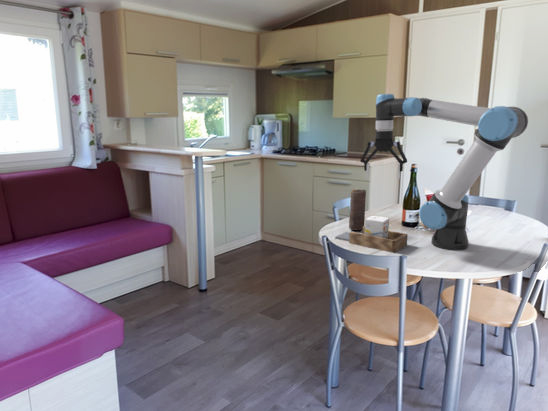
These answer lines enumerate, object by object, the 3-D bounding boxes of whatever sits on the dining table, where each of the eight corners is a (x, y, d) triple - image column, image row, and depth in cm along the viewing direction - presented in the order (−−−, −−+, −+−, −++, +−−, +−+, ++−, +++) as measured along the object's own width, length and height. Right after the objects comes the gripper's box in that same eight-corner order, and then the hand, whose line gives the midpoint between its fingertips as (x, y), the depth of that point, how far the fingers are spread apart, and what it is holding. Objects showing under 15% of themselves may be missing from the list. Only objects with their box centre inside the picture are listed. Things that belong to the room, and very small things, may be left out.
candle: (363, 232, 212) (366, 191, 208) (348, 231, 214) (350, 191, 209) (364, 228, 220) (366, 188, 215) (349, 227, 221) (350, 188, 217)
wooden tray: (406, 244, 194) (407, 234, 193) (394, 252, 184) (395, 241, 183) (363, 236, 207) (363, 225, 205) (349, 243, 196) (349, 232, 195)
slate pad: (361, 236, 206) (361, 234, 206) (350, 241, 198) (350, 239, 198) (346, 233, 211) (346, 231, 211) (335, 238, 203) (335, 236, 203)
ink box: (381, 247, 190) (383, 221, 187) (363, 244, 194) (364, 218, 192) (388, 242, 197) (389, 217, 195) (370, 239, 202) (371, 214, 199)
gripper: (414, 129, 193) (412, 178, 197) (357, 130, 202) (356, 176, 206) (413, 130, 186) (411, 180, 190) (354, 131, 195) (353, 178, 199)
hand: (383, 178), depth 198 cm, fingers open, 13 cm apart
